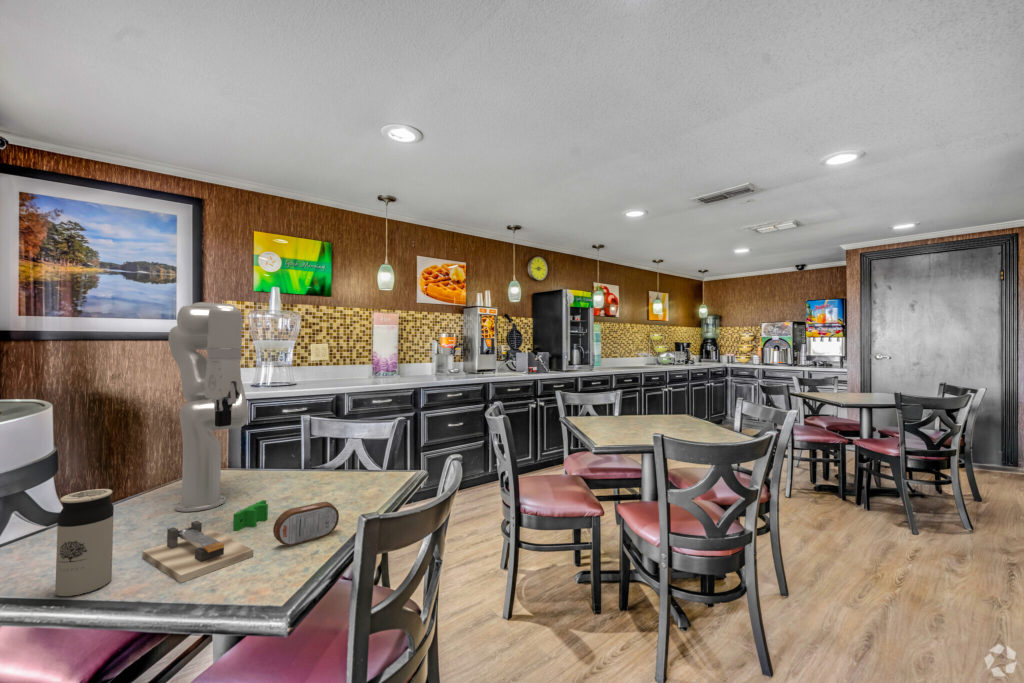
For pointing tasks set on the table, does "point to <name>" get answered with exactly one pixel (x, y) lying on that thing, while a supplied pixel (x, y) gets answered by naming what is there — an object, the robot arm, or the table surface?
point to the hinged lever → (200, 540)
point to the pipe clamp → (250, 515)
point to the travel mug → (84, 542)
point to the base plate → (194, 555)
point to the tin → (305, 523)
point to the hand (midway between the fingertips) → (223, 425)
